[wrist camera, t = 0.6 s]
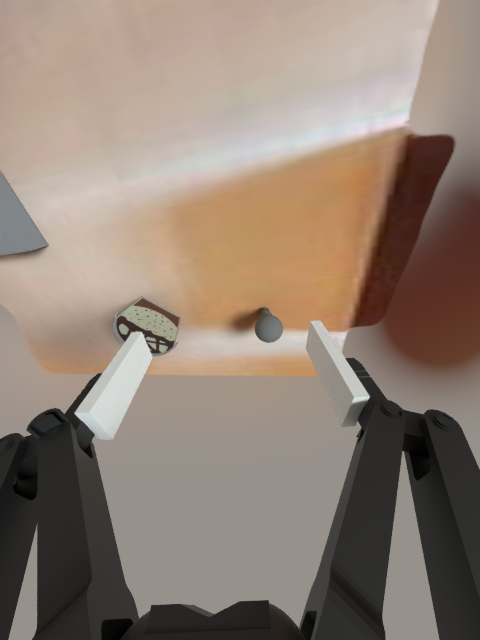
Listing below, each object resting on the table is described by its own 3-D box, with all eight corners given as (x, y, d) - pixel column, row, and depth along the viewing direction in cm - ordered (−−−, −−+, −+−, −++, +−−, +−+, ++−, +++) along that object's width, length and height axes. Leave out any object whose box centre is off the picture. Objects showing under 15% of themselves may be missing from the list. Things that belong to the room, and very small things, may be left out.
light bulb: (278, 316, 46) (288, 343, 38) (256, 323, 47) (261, 351, 39) (272, 296, 43) (281, 321, 35) (249, 304, 44) (252, 330, 36)
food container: (125, 312, 45) (100, 340, 37) (135, 292, 42) (111, 317, 34) (174, 337, 49) (162, 367, 41) (186, 320, 46) (176, 349, 38)
